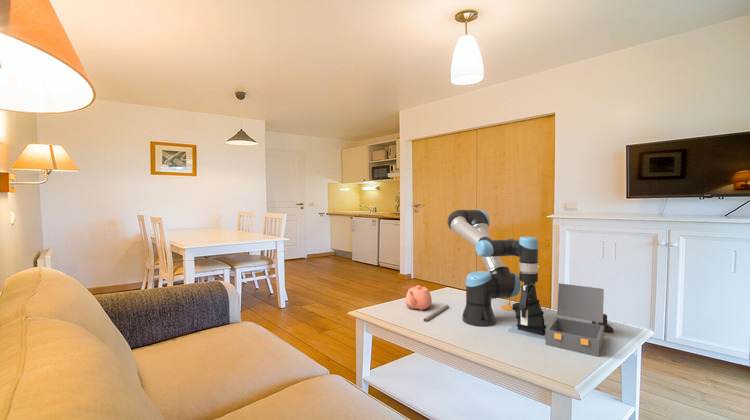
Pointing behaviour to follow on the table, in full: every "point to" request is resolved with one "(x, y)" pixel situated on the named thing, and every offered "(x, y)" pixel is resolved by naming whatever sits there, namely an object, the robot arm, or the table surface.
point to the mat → (515, 330)
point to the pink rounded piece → (418, 298)
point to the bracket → (605, 324)
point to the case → (575, 336)
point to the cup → (507, 306)
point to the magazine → (531, 317)
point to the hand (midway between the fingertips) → (528, 320)
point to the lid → (580, 302)
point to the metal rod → (436, 313)
